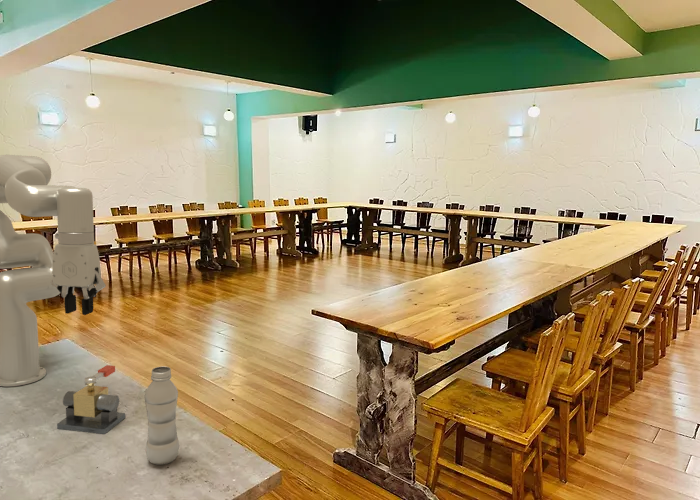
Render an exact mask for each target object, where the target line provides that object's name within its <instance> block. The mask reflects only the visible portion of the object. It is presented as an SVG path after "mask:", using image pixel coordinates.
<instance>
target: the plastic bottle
mask: <svg viewBox="0 0 700 500" xmlns="http://www.w3.org/2000/svg"><path fill="white" fill-rule="evenodd" d="M171 379H172V369H171V367H169V366H157V367H153V368H152V370H151V377H150V380H151V382H150V384H149V385H148V386H147V388H146V389H145V392H144V395H143V397H144V403H145V408H146V414H147V423H148V425H147V426H148V427H147V441H146V446H145V455H146V459H147V460H148V461H149V462H150V463H151V464H153V465H157V466H159V465H160V466H161V465H166V464H169V463H171V462H173V461H175V460H176V458H177V457H178V455H179V451H180V441H179V437H178V431H177V423H176V421H177V420H176V419H177V418H176V416H177V405H178V397H179V391H178V388H177V386H176V385H175V384H174V382H173V381H172V380H171Z"/></svg>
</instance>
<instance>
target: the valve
mask: <svg viewBox="0 0 700 500" xmlns="http://www.w3.org/2000/svg"><path fill="white" fill-rule="evenodd" d="M62 404H63V406H64V407H65V418H63V419H62V420H61V421H59V422H58V423H56V429H58V430H65V431H73V432H83V433H93V434H99V435H100V434H102V435H106V434H107V433H108V432H110V430H113V428H115V427H116V426H117V425H118V424H119V423H120V422H122V421H123V420H124V419H126V412H119V411H118V407H119V405H120V397H119V395H114V394H109V386H101V385H95V384H93V385H86V386H84V387H83V388H81V389H80V390H78V391H76V390H68V391H67V392H65V393H64V396H63V399H62Z"/></svg>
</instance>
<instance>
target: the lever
mask: <svg viewBox="0 0 700 500" xmlns="http://www.w3.org/2000/svg"><path fill="white" fill-rule="evenodd" d="M115 372H116V365H111V364H110V365H109V364H106V365H104V366H103V367H101V368H99V369H98V370H97V373H95V374H93V375H90V376H87V377H85V378H84V385H86V386H88V385H93V384H94V385H95V384H97V381H99V380H101V379H102V378H107V377H109V376H110V375H112V374H114V373H115Z"/></svg>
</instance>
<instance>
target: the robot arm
mask: <svg viewBox="0 0 700 500" xmlns="http://www.w3.org/2000/svg"><path fill="white" fill-rule="evenodd" d="M51 179H52V170H51V166H50V165H49V163H48V161H46V160H45V159H44V158H42V157H39V156H33V155H21V154H20V155H18V154H17V155H16V154H0V204H8V206H9V207H10V208H11V209H12V210H14V211H16V212H18V214H20V215H23V216H26V217H31V218H33V217H34V218H41V217H57V232H56V233H55V234H54V238H55V239H57V240H58V241H57V242H58V243H57V244H56V243H55V246H54V249H53V248H52V247H51V244H50V241H48V239H47V238H46V237H45V236H44V235H42V234H40V233H32V232H31V233H18V232H16V230H15V227H14V225H13V222H12V220H11V219H10V217H9V216H8V215H7V214H6V213H4V212H3V211H2V210H0V269H2V270H3V269H8V270H4V271H1V272H0V387H19V386H24V385H29V384H32V383H36V382H38V381H39V380H41V379H43V378H44V377H45V376H47V370H46V368H44V367H43V366H40V353H39V351H40V350H39V332H38V318H37V315H36V313H35V312H34V310H33V309H31V308H30V307H29V306H28V305H27V304H28V303H29V302H35V301H39V300H45V299H51V298H54V297H56V296H58V295H60V294H61V297H62V298H63V300H64V313H65V314H66V315H67V314H71V313H74V312H76V311H77V295H76V294H75V293H74V292H75V288H81V290H82V295H83V298H82V299H81V314H82V315H83V316H87V315H90V314H92V313H93V312H94V297H96V295H97V294H98V293H99V292H100V291H101V290H103V289H104V288H106V283H105V281H104V280H103V278H102V270H101V260H100V253H99V250H98V246H97V244H95V225H94V203H93V202H94V197H93V192H92V191H91V190H90V189H89V188H86V187H76V186H72V185H55V184H54V185H51V184H49V183H50V181H51ZM22 267H24V268H22ZM25 267H26V268H25ZM13 268H15V269H13ZM9 269H10V270H9Z"/></svg>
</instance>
